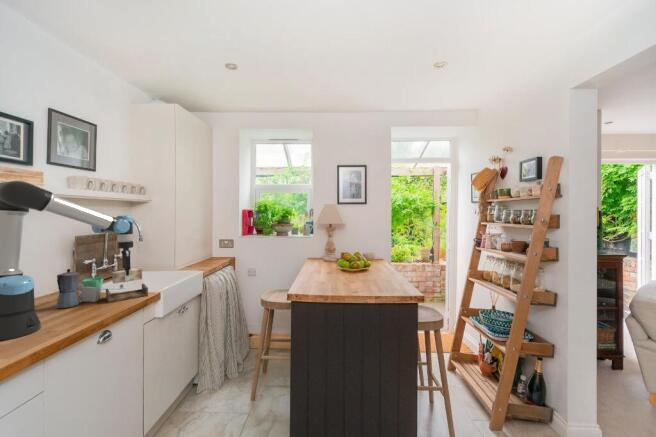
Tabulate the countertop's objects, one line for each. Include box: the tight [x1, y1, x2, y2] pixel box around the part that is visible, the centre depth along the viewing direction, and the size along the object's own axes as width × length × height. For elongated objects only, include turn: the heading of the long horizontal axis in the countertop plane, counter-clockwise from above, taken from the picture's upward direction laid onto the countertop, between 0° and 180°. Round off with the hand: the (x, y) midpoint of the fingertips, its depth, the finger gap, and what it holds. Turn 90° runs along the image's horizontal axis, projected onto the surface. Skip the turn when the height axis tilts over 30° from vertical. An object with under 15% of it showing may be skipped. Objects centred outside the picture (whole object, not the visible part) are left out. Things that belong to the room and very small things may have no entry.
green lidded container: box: [81, 276, 104, 291], centre depth 174 cm, size 15×10×10 cm
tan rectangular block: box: [111, 267, 143, 284], centre depth 169 cm, size 14×5×6 cm, turn 132°
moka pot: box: [56, 268, 80, 309], centre depth 152 cm, size 10×15×20 cm, turn 20°
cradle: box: [105, 282, 149, 304], centre depth 168 cm, size 19×14×5 cm
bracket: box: [77, 283, 102, 304], centre depth 161 cm, size 11×4×10 cm, turn 100°
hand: (126, 279), depth 168 cm, fingers closed on tan rectangular block, 5 cm apart
